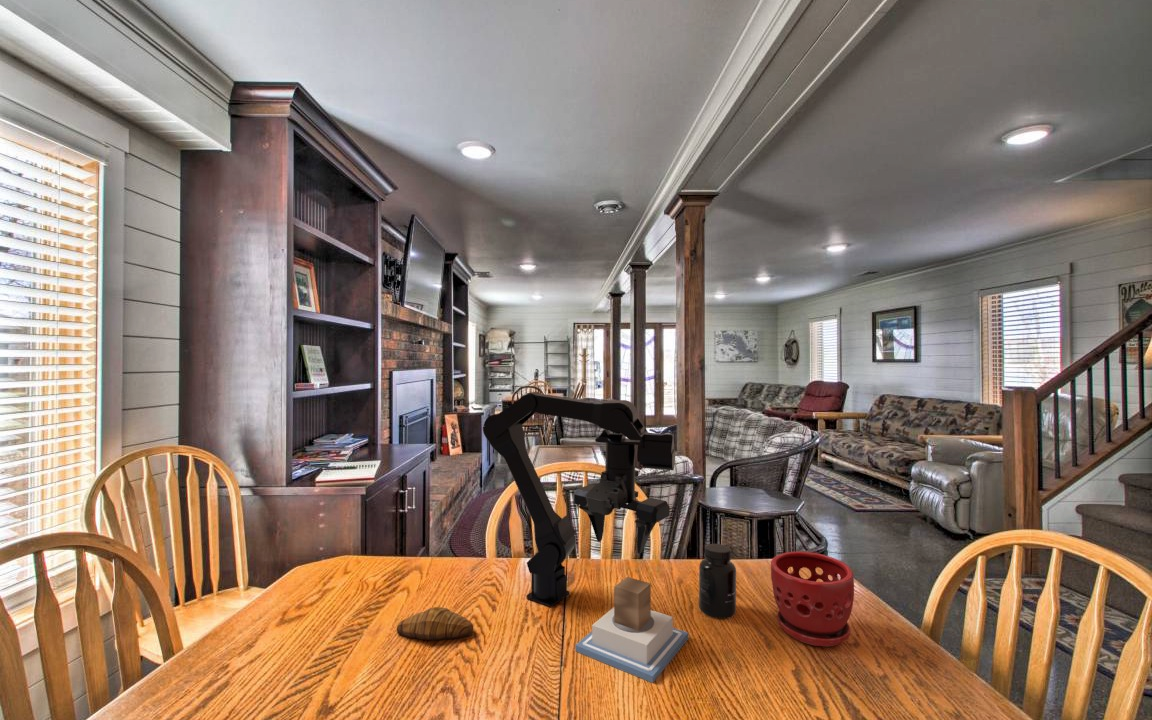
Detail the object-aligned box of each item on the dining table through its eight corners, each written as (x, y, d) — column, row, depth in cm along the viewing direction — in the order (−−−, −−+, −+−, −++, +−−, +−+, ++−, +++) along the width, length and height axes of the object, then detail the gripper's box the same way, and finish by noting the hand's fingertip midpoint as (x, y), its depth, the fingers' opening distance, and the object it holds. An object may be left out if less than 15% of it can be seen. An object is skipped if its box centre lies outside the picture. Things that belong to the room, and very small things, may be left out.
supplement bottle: (738, 622, 90) (738, 556, 90) (699, 618, 91) (699, 553, 91) (734, 603, 97) (734, 542, 97) (698, 600, 98) (698, 540, 98)
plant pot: (780, 606, 96) (780, 544, 96) (857, 627, 88) (858, 560, 88) (762, 637, 85) (762, 568, 85) (848, 665, 77) (848, 589, 77)
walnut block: (614, 622, 82) (614, 586, 82) (627, 610, 86) (627, 576, 86) (638, 630, 80) (638, 594, 80) (650, 618, 83) (650, 583, 83)
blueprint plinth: (575, 651, 81) (575, 626, 81) (617, 614, 93) (617, 592, 93) (652, 683, 73) (652, 655, 73) (688, 638, 85) (688, 614, 85)
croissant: (388, 646, 83) (388, 616, 83) (404, 624, 90) (404, 597, 90) (467, 648, 83) (467, 618, 83) (477, 626, 89) (477, 598, 89)
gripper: (556, 466, 94) (555, 547, 95) (641, 482, 83) (639, 574, 83) (590, 456, 103) (589, 531, 103) (671, 470, 92) (670, 554, 92)
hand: (619, 546), depth 95 cm, fingers open, 9 cm apart
